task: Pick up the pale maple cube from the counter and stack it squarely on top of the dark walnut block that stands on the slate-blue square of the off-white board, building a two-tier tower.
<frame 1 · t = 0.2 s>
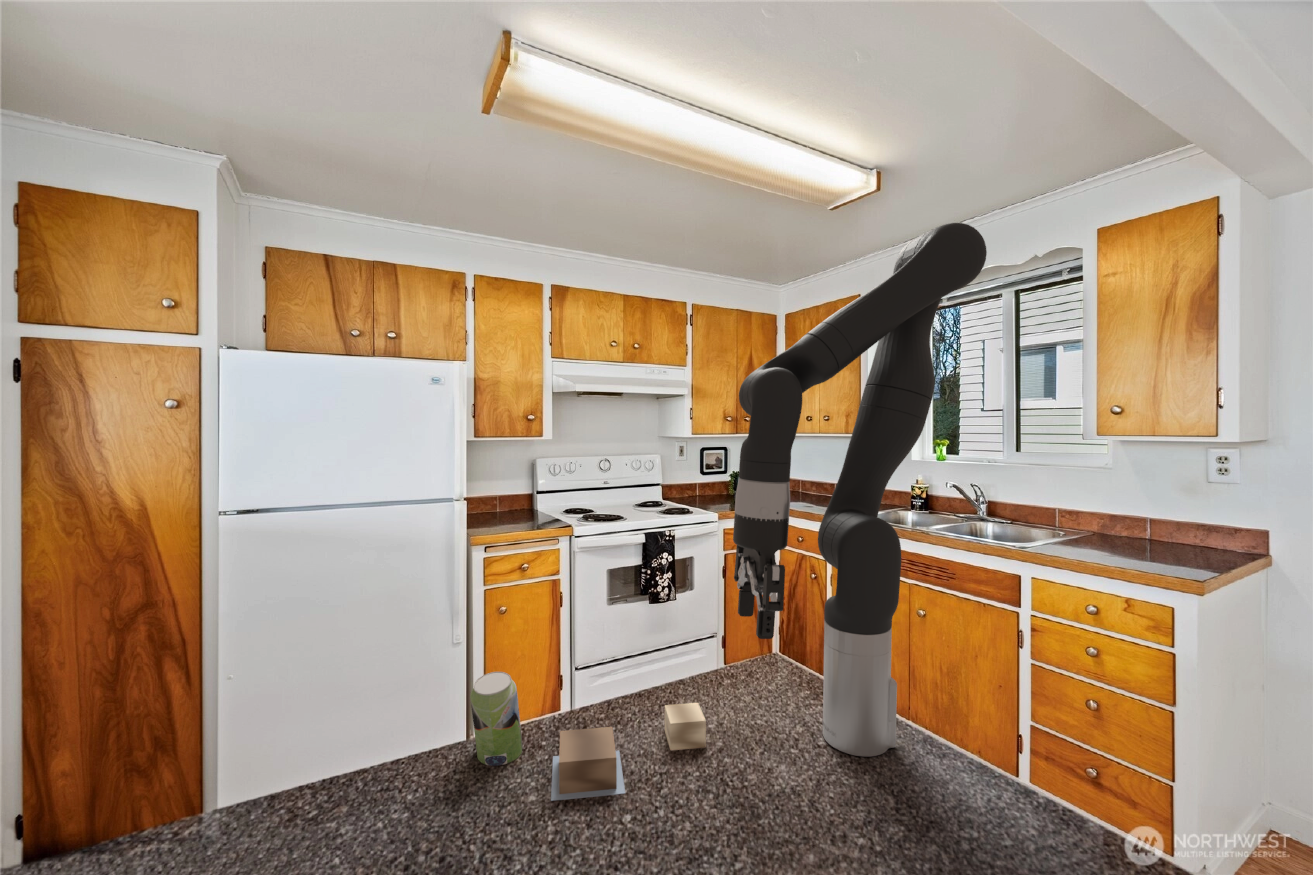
hand: (754, 626, 82), 18 cm above the countertop, tool pointing down, fingers open, 8 cm apart
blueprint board: (595, 781, 75), on the countertop
maple cube: (684, 746, 83), on the countertop
beverage can: (497, 763, 79), on the countertop
walnut block: (587, 773, 75), point 1 cm above the countertop, touching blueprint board
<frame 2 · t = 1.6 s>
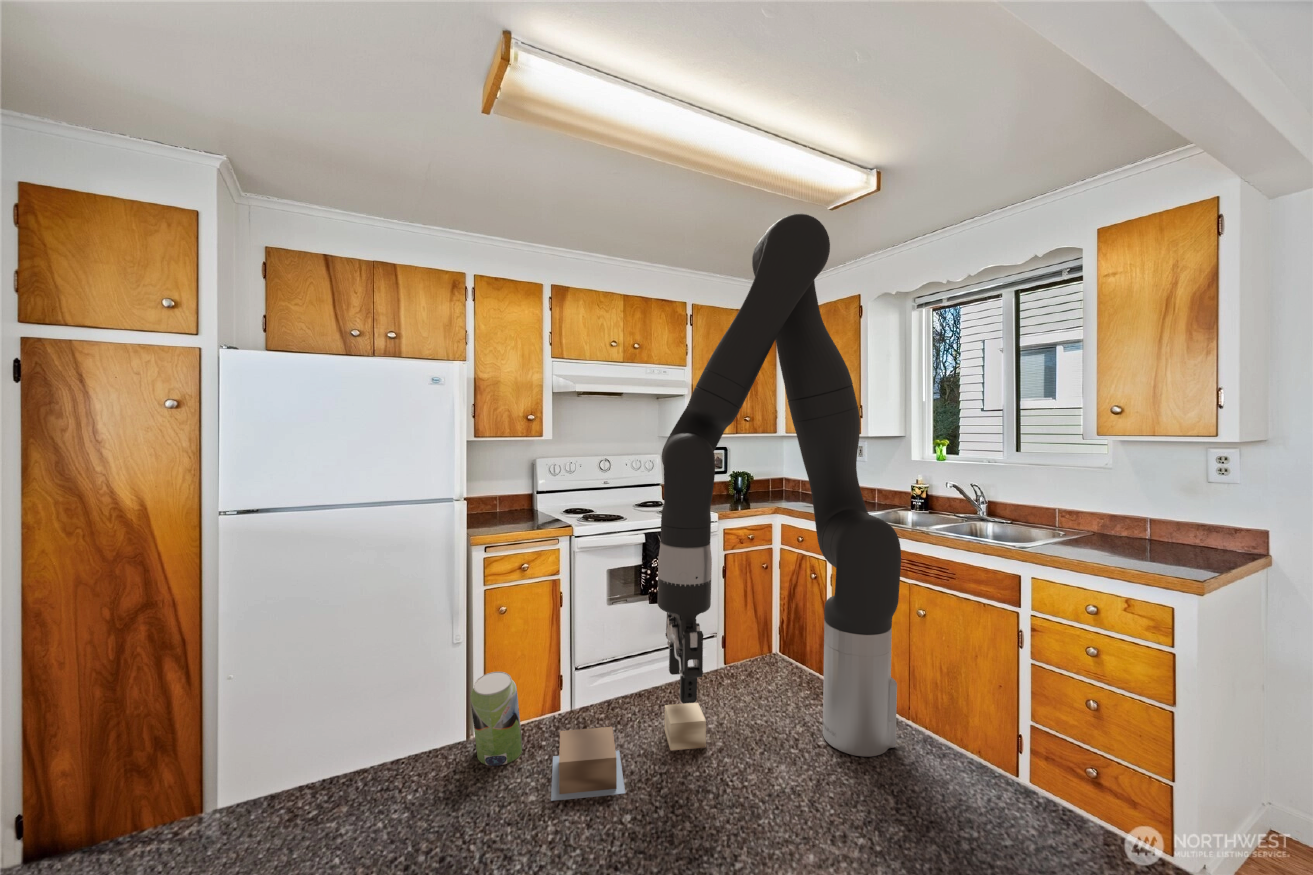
hand: (681, 686, 82), 9 cm above the countertop, tool pointing down, fingers open, 8 cm apart
nothing on the countertop moved.
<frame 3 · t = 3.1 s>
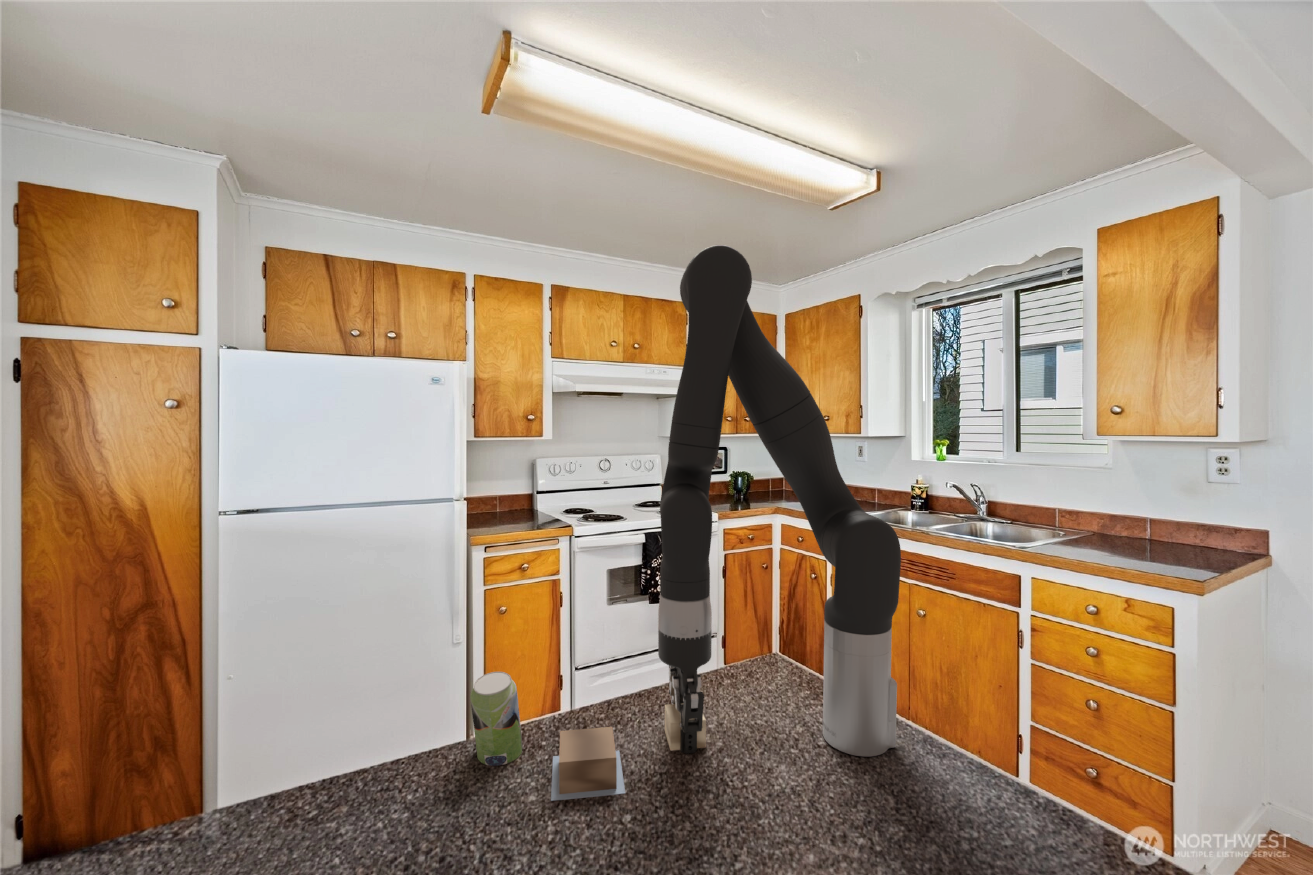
hand: (684, 741, 83), 1 cm above the countertop, tool pointing down, fingers closed on maple cube, 5 cm apart
maple cube: (684, 746, 83), on the countertop, touching gripper
everything else where it was.
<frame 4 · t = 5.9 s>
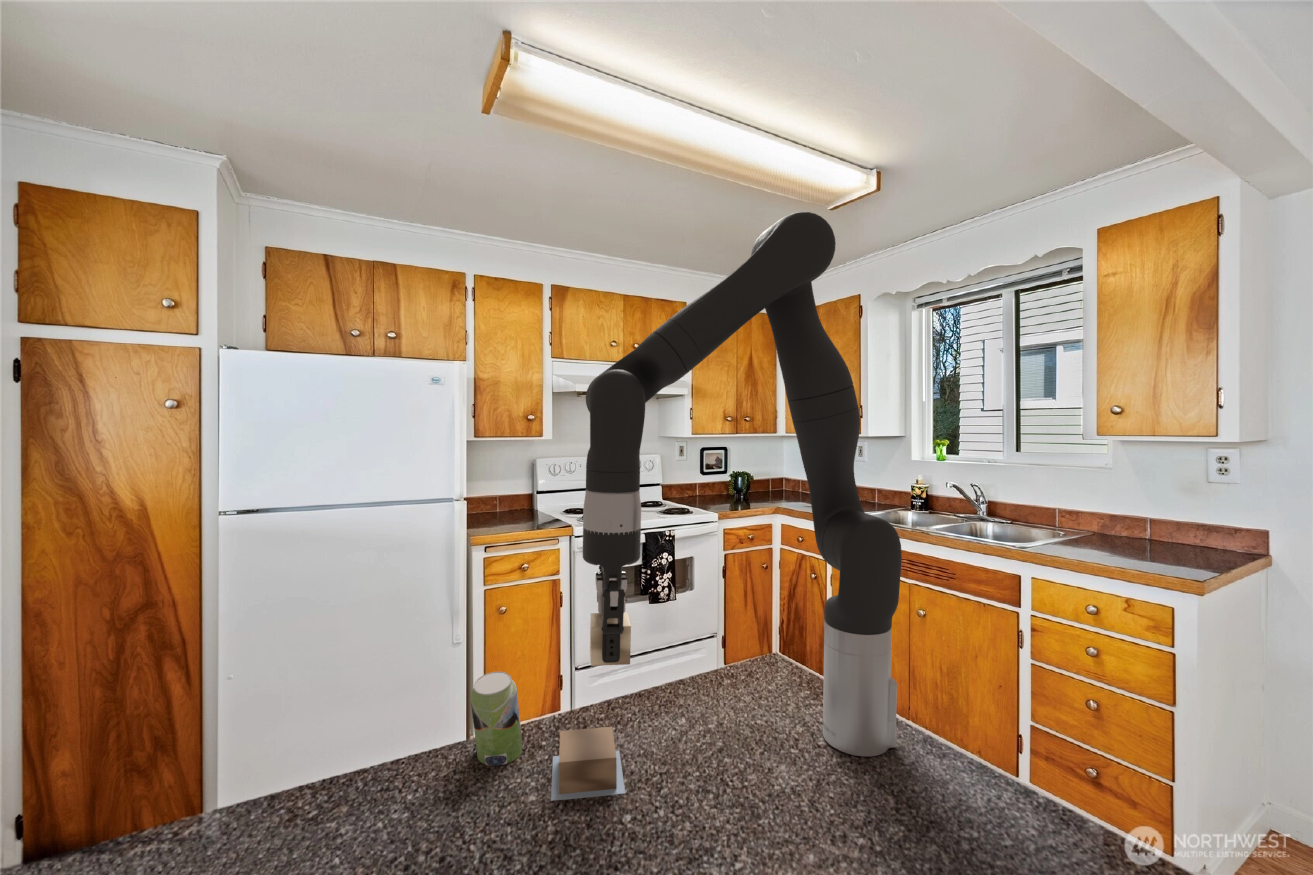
hand: (609, 651, 76), 16 cm above the countertop, tool pointing down, fingers closed on maple cube, 5 cm apart
maple cube: (609, 656, 76), point 16 cm above the countertop, touching gripper
everything else where it was.
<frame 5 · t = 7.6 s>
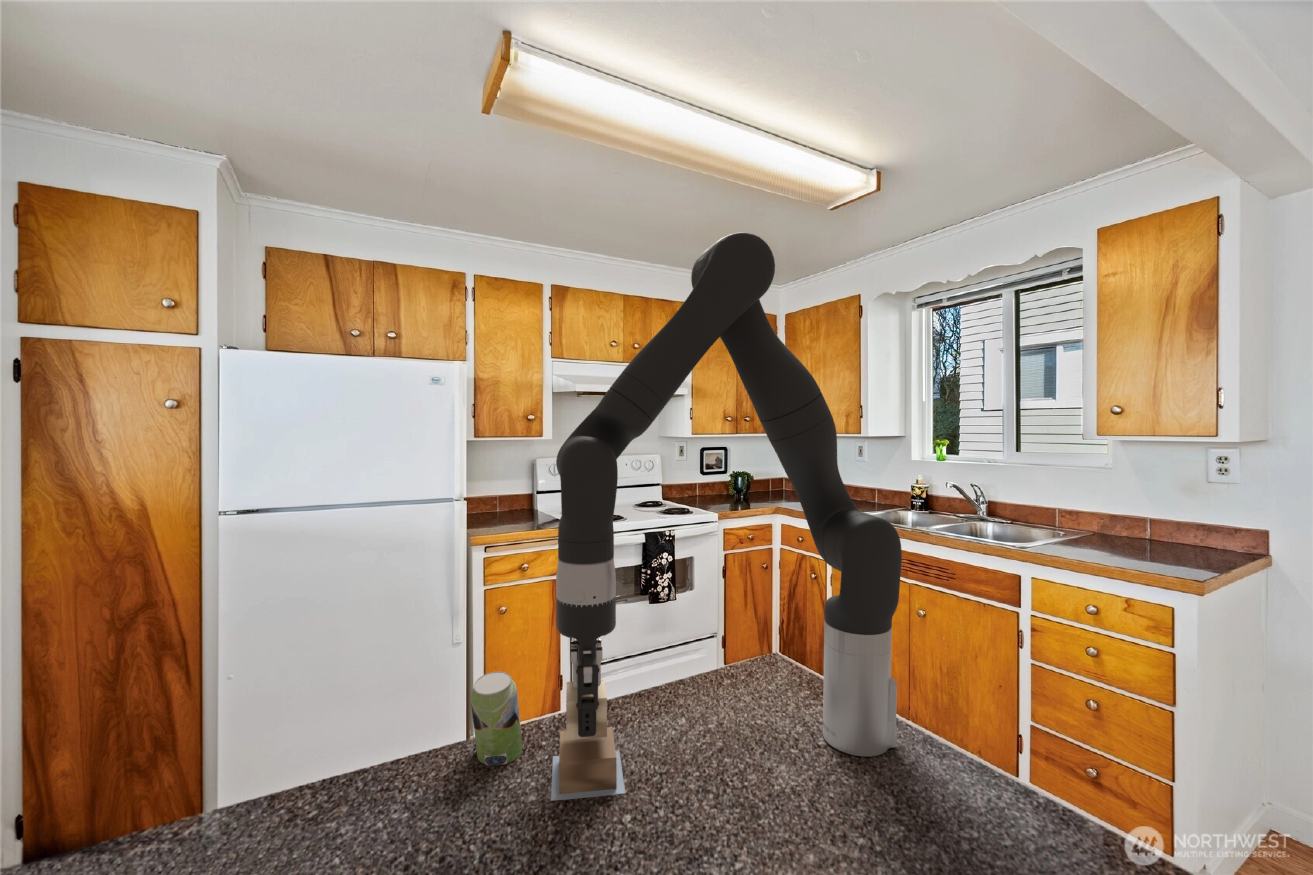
hand: (586, 722, 74), 8 cm above the countertop, tool pointing down, fingers closed on maple cube, 5 cm apart
maple cube: (586, 727, 74), point 7 cm above the countertop, touching gripper
everything else where it was.
when the fingers open (6 cm above the countertop, at t = 8.8 s): maple cube stays where it is, resting on walnut block.
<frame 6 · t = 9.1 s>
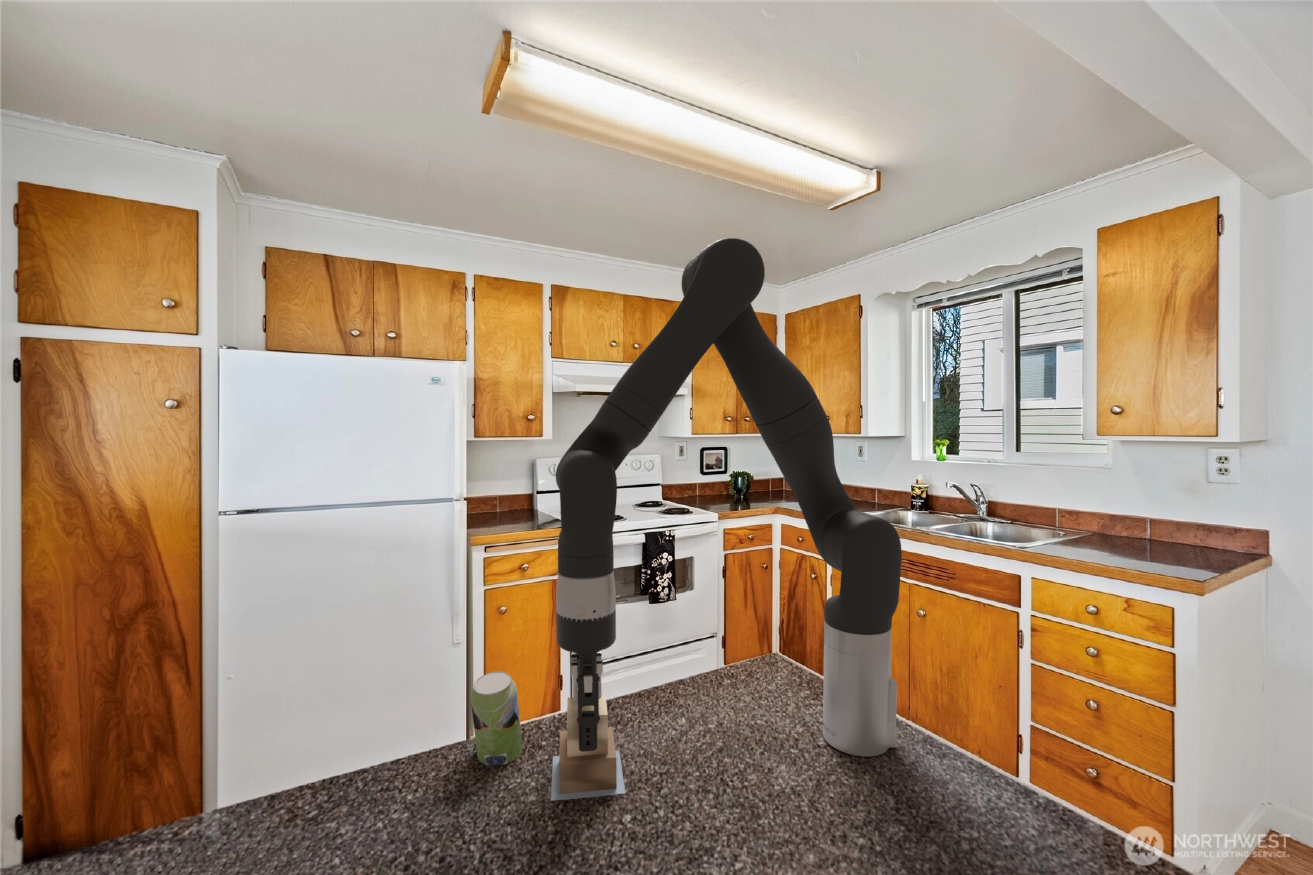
hand: (587, 731, 75), 7 cm above the countertop, tool pointing down, fingers open, 7 cm apart
maple cube: (587, 743, 75), point 5 cm above the countertop, touching walnut block
walnut block: (587, 773, 75), point 1 cm above the countertop, touching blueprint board, maple cube
everything else where it was.
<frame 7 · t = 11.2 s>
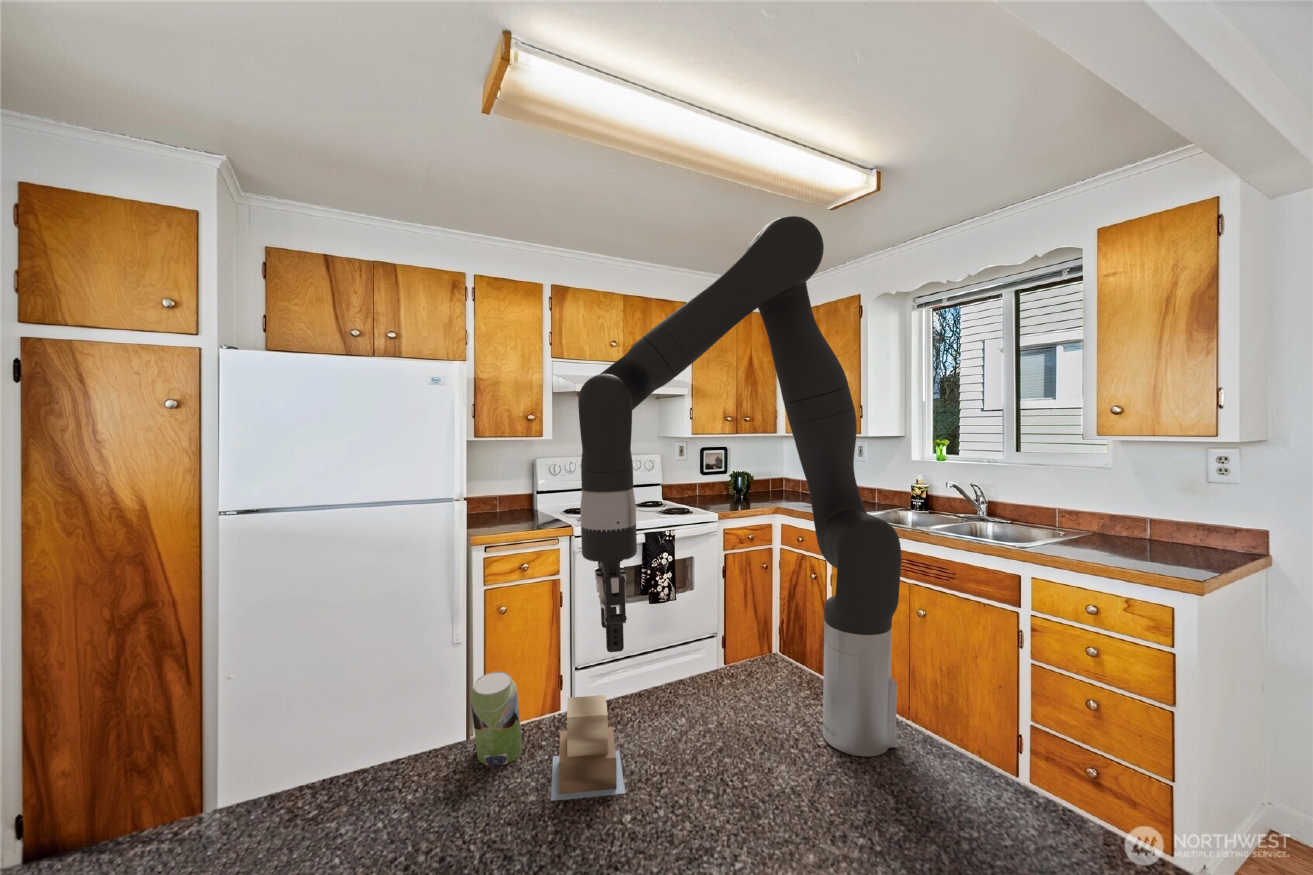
hand: (612, 638, 80), 17 cm above the countertop, tool pointing down, fingers open, 8 cm apart
nothing on the countertop moved.
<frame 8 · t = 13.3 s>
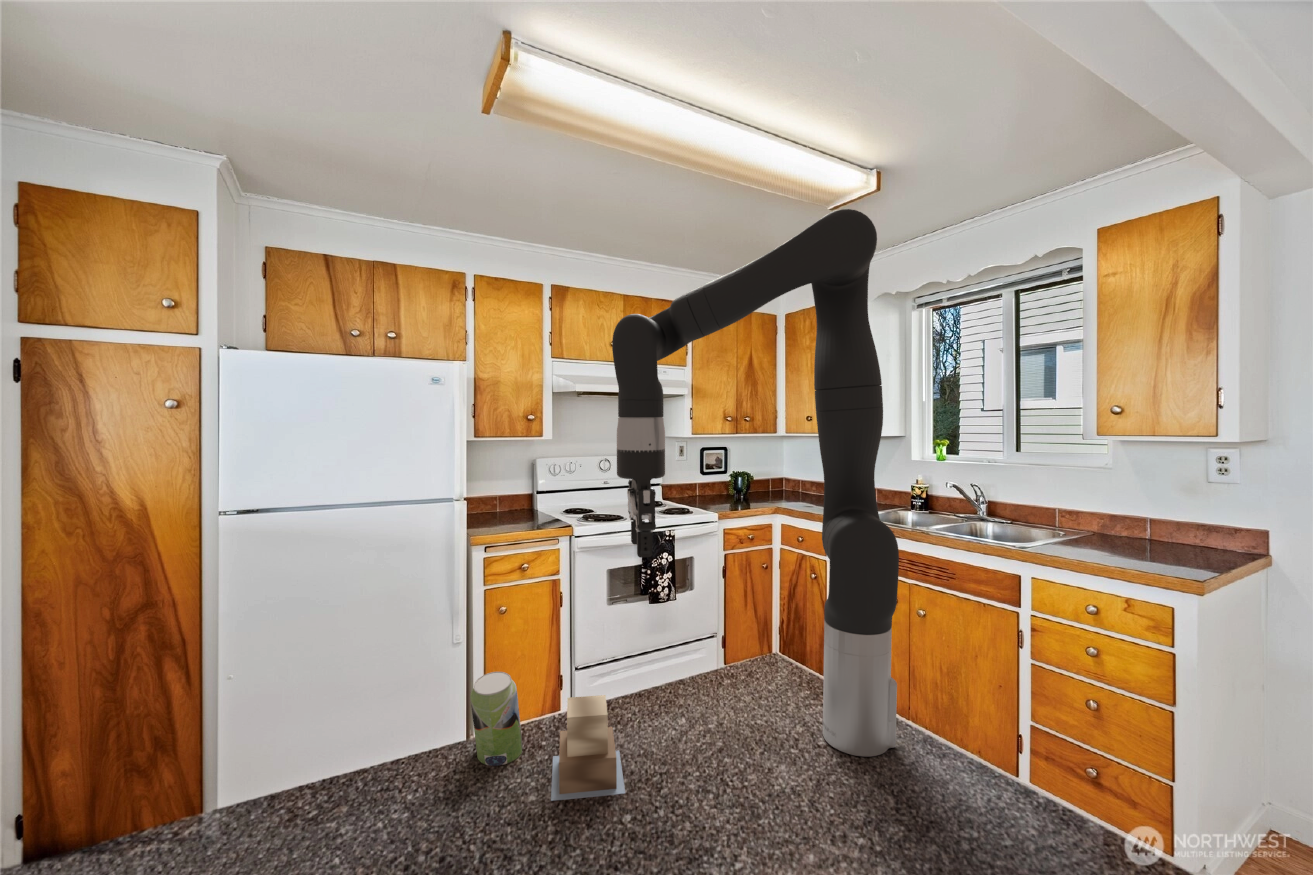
hand: (641, 549, 91), 26 cm above the countertop, tool pointing down, fingers open, 8 cm apart
nothing on the countertop moved.
at the end: maple cube 0.0 cm off-centre on the walnut block, point 4.0 cm above the walnut block's base; the gripper is holding nothing; walnut block moved 0.0 cm from its start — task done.
